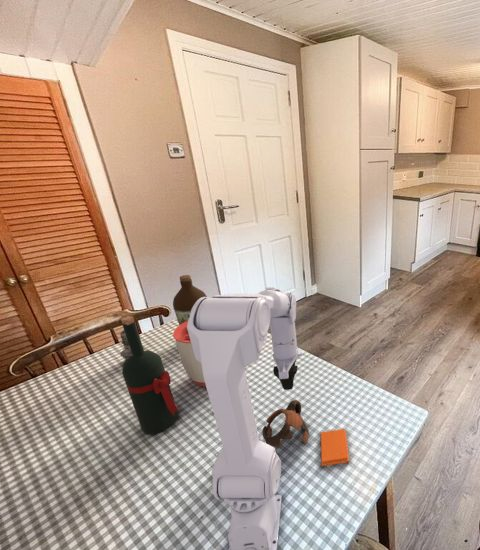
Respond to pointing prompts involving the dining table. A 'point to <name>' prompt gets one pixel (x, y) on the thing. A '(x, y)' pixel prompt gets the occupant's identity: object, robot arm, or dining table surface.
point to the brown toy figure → (286, 425)
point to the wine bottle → (148, 384)
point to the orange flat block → (334, 447)
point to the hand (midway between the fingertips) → (289, 382)
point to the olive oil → (186, 299)
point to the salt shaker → (125, 346)
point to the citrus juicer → (188, 355)
